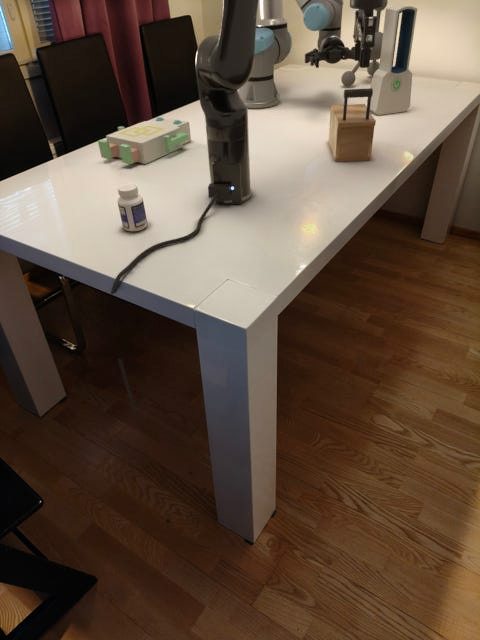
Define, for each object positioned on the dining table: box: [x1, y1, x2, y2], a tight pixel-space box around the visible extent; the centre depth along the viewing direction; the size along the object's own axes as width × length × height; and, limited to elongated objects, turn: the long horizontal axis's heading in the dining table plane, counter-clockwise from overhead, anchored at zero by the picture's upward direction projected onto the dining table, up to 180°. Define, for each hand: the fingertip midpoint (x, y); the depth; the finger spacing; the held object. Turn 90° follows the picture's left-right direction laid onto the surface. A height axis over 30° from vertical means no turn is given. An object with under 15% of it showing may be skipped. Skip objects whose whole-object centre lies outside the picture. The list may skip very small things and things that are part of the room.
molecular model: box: [340, 0, 388, 87], centre depth 186 cm, size 24×22×30 cm
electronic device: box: [366, 4, 418, 116], centre depth 155 cm, size 12×8×30 cm, turn 105°
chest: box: [328, 110, 375, 162], centre depth 133 cm, size 16×9×9 cm, turn 178°
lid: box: [330, 88, 376, 127], centre depth 128 cm, size 16×9×8 cm, turn 178°
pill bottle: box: [117, 182, 148, 232], centre depth 102 cm, size 5×5×9 cm
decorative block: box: [97, 116, 192, 165], centre depth 142 cm, size 26×6×20 cm
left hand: (361, 63), depth 117 cm, fingers open, 8 cm apart
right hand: (340, 61), depth 146 cm, fingers open, 13 cm apart
